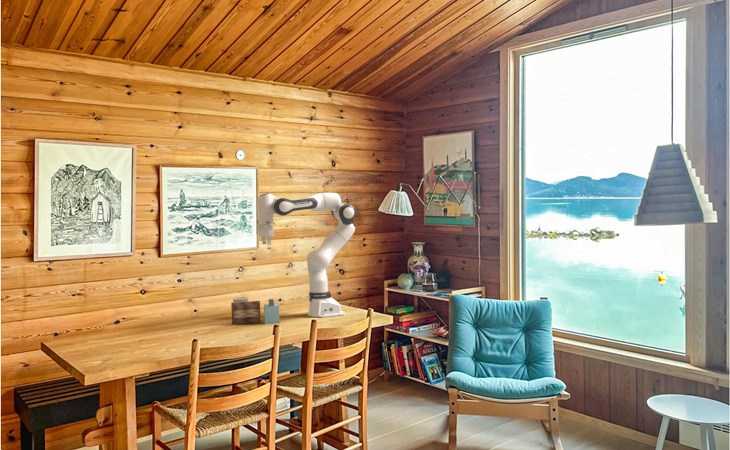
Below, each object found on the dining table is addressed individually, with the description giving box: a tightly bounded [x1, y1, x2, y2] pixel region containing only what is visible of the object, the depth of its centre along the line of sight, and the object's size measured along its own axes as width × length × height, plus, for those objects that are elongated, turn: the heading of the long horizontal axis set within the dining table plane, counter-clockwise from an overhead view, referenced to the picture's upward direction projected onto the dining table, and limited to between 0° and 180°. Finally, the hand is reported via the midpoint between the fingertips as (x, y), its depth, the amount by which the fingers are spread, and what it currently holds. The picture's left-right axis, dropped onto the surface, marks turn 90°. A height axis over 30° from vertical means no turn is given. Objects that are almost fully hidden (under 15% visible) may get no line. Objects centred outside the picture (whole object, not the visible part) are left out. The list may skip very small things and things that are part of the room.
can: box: [232, 296, 249, 303], centre depth 352 cm, size 9×9×12 cm
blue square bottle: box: [263, 298, 280, 325], centre depth 335 cm, size 8×9×14 cm
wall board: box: [230, 300, 261, 325], centre depth 334 cm, size 16×6×12 cm, turn 105°
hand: (266, 244), depth 344 cm, fingers open, 8 cm apart
